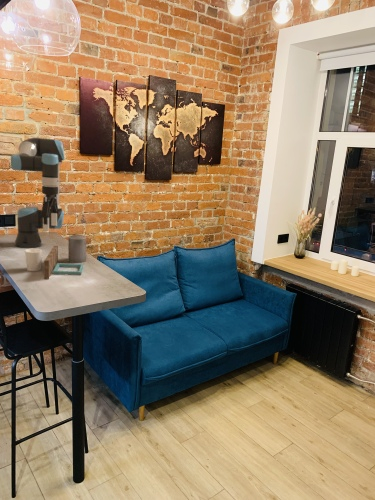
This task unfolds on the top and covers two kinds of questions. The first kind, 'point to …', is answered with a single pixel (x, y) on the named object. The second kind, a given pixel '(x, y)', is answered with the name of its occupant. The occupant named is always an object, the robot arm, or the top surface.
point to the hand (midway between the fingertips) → (50, 228)
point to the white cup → (33, 259)
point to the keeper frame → (68, 271)
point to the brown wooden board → (50, 262)
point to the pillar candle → (77, 248)
